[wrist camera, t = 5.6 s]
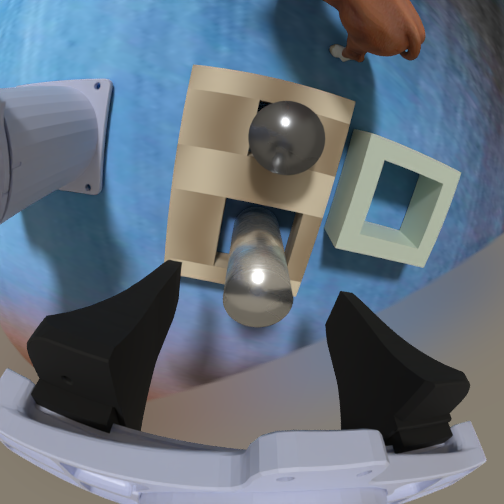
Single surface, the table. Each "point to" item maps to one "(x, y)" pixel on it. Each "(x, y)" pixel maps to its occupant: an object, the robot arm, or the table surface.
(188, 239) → the socket block
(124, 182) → the table surface
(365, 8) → the bull figurine
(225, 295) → the silver metal cylinder
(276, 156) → the round dark knob
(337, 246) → the grey-green hollow square block
